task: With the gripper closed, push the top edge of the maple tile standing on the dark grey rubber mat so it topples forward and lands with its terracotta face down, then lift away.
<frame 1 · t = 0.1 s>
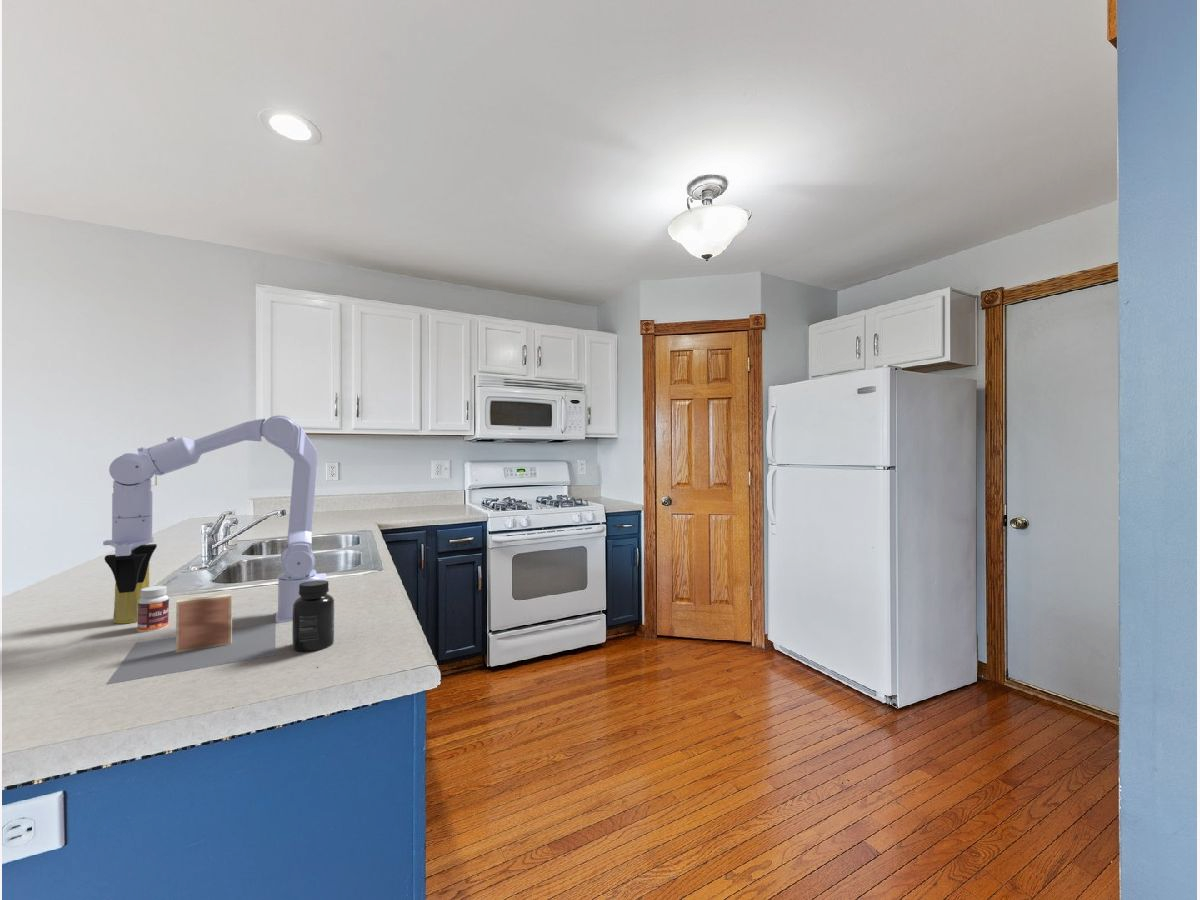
hand: (131, 587, 98), 10 cm above the counter, tool pointing down, fingers open, 7 cm apart
tile: (204, 646, 94), resting on mat
vase: (132, 620, 110), on the counter
supplement bottle: (313, 648, 96), on the counter
pill bottle: (153, 630, 104), on the counter
mat: (203, 650, 93), on the counter
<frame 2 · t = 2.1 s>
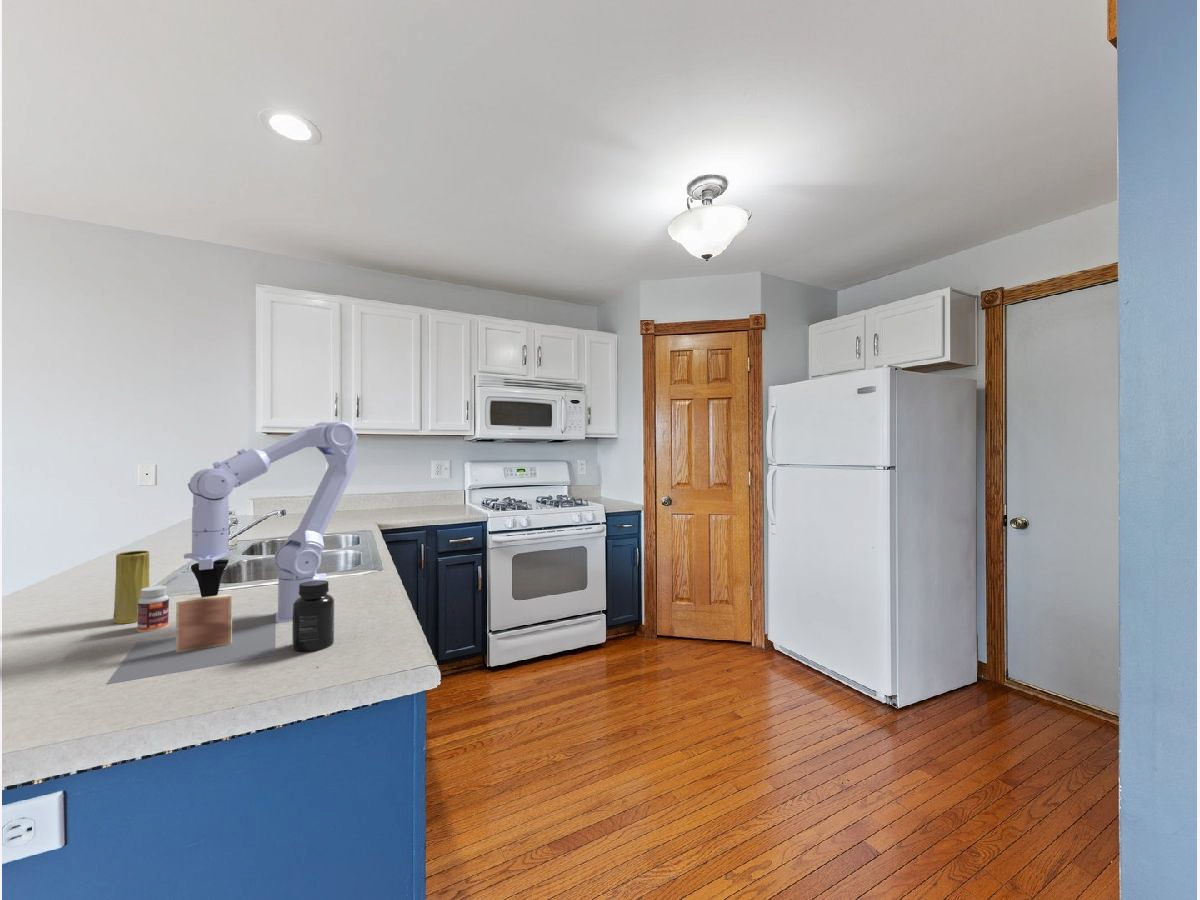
hand: (209, 599, 101), 7 cm above the counter, tool pointing down, fingers closed
nothing on the counter moved.
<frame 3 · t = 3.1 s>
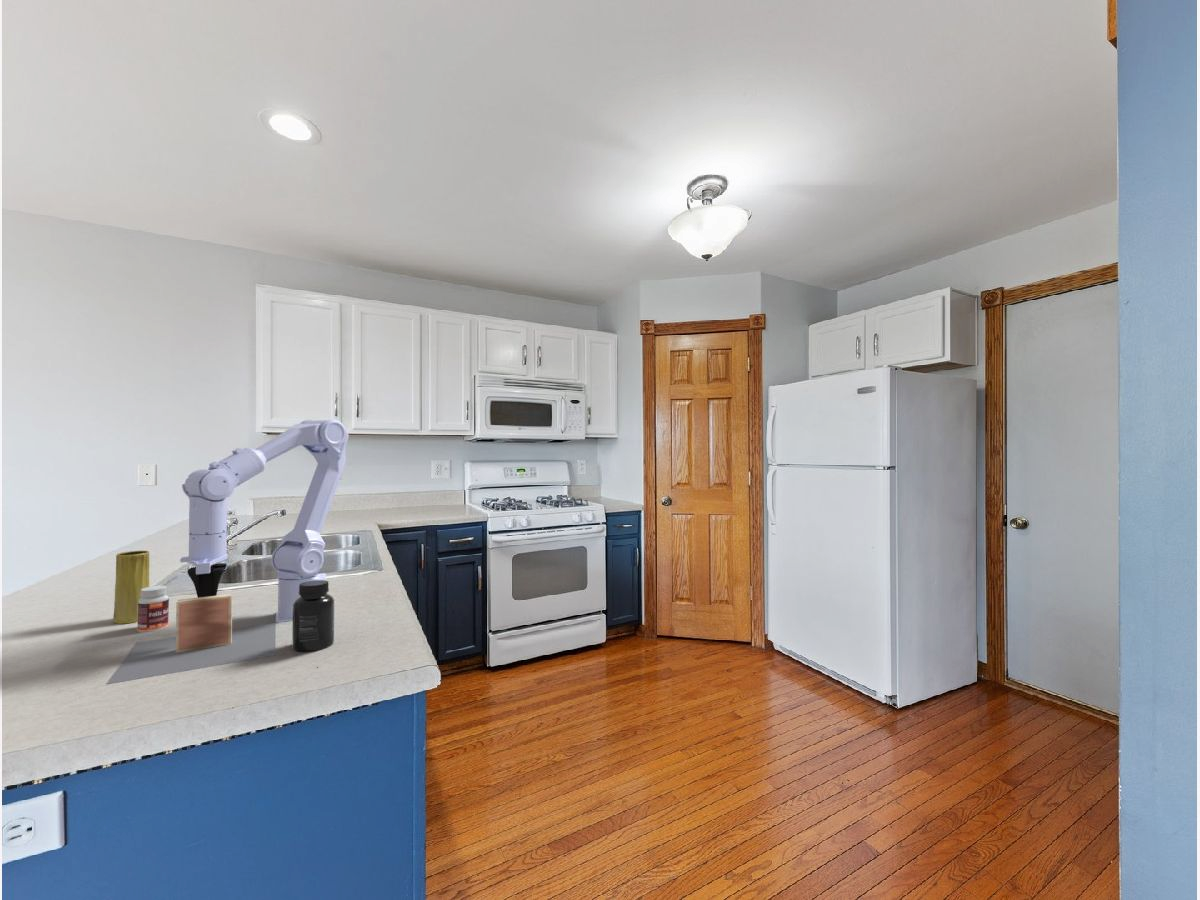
hand: (207, 604, 97), 7 cm above the counter, tool pointing down, fingers closed
nothing on the counter moved.
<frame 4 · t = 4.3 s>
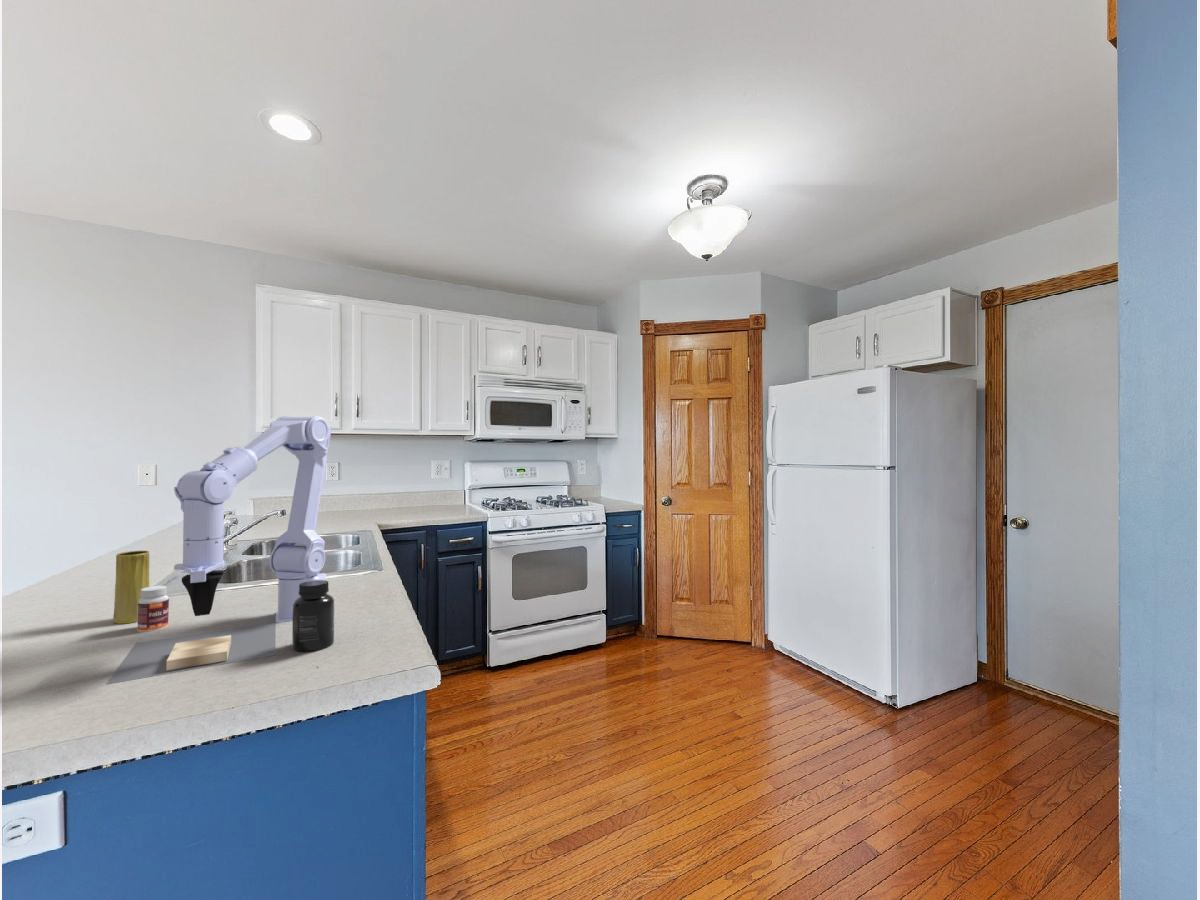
hand: (202, 614, 92), 7 cm above the counter, tool pointing down, fingers closed
tile: (204, 643, 93), point 1 cm above the counter, tilted 90°, touching mat
everything else where it was.
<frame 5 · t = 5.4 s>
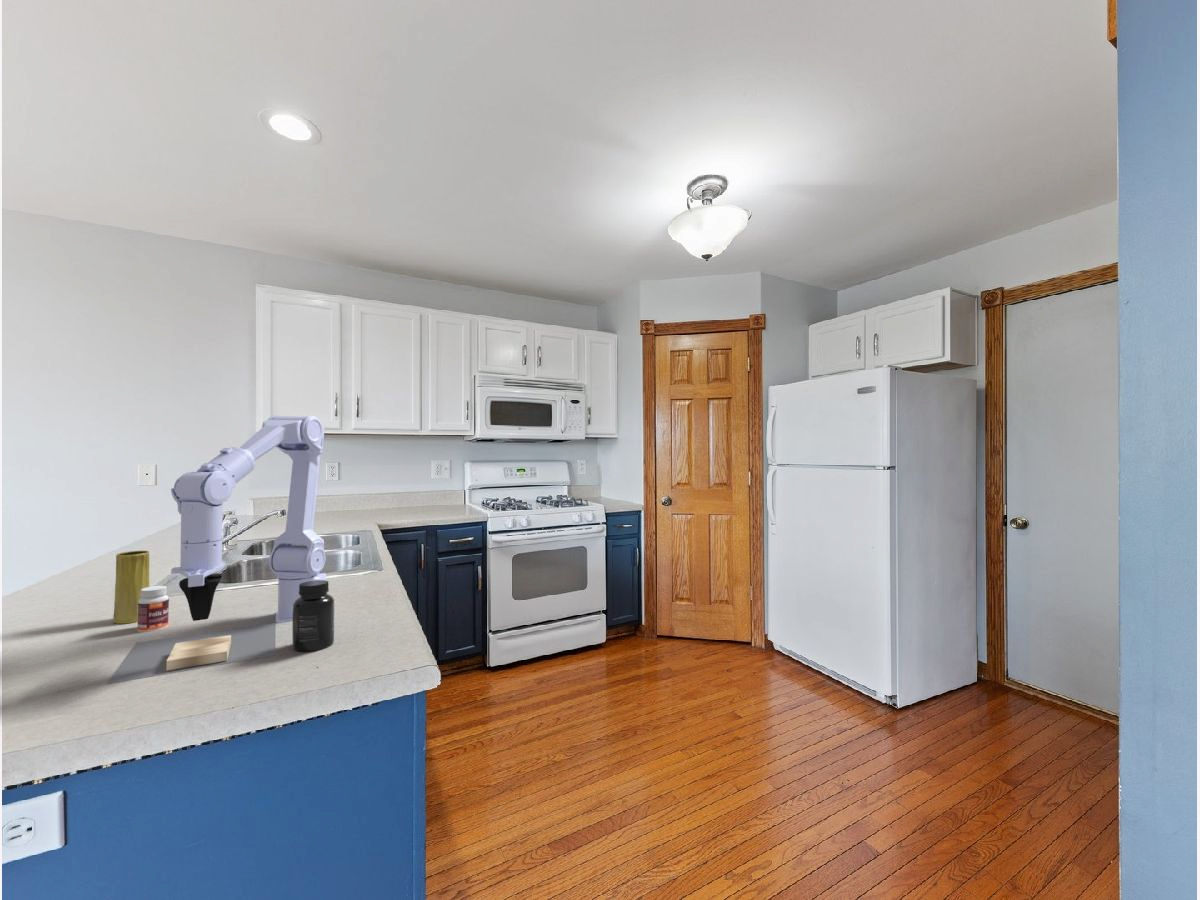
hand: (200, 619, 89), 7 cm above the counter, tool pointing down, fingers closed
nothing on the counter moved.
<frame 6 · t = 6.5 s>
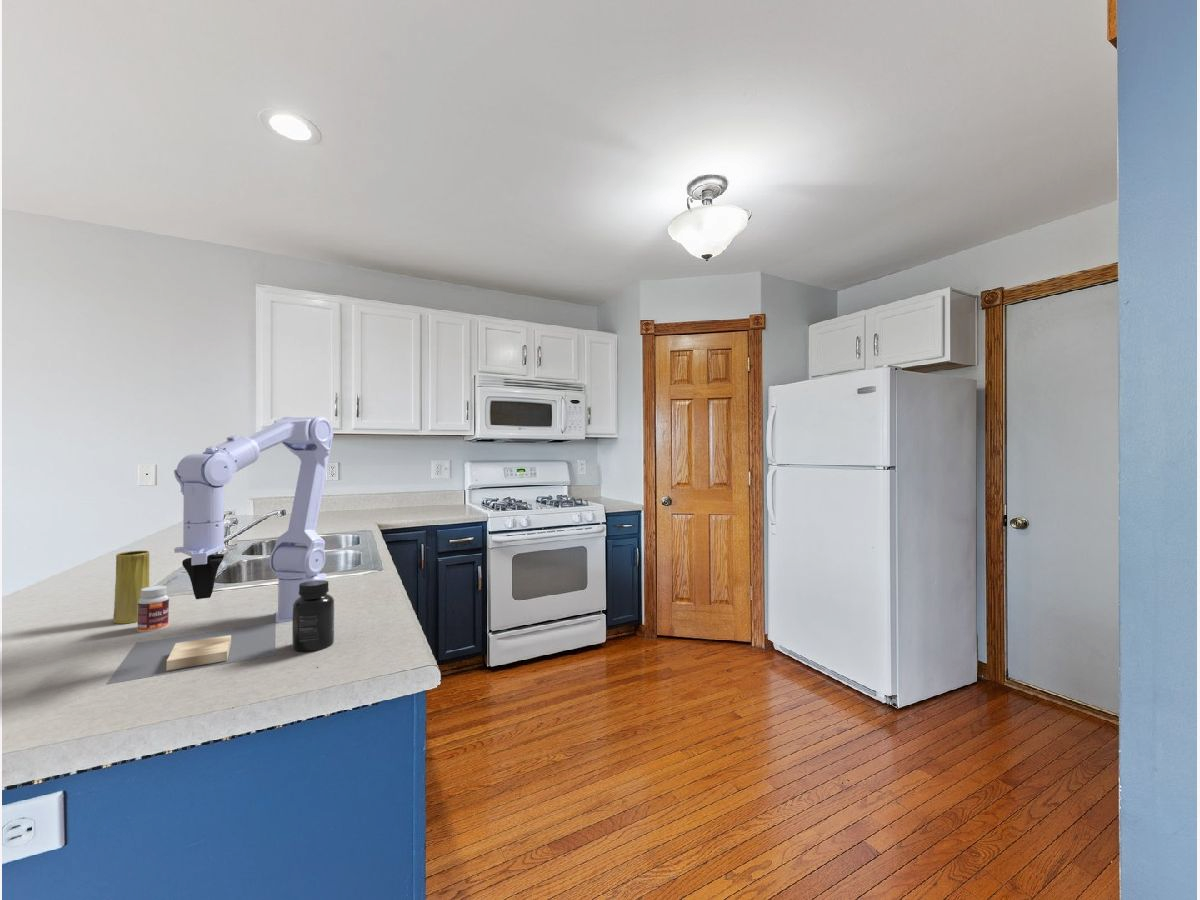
hand: (203, 597, 91), 10 cm above the counter, tool pointing down, fingers closed
nothing on the counter moved.
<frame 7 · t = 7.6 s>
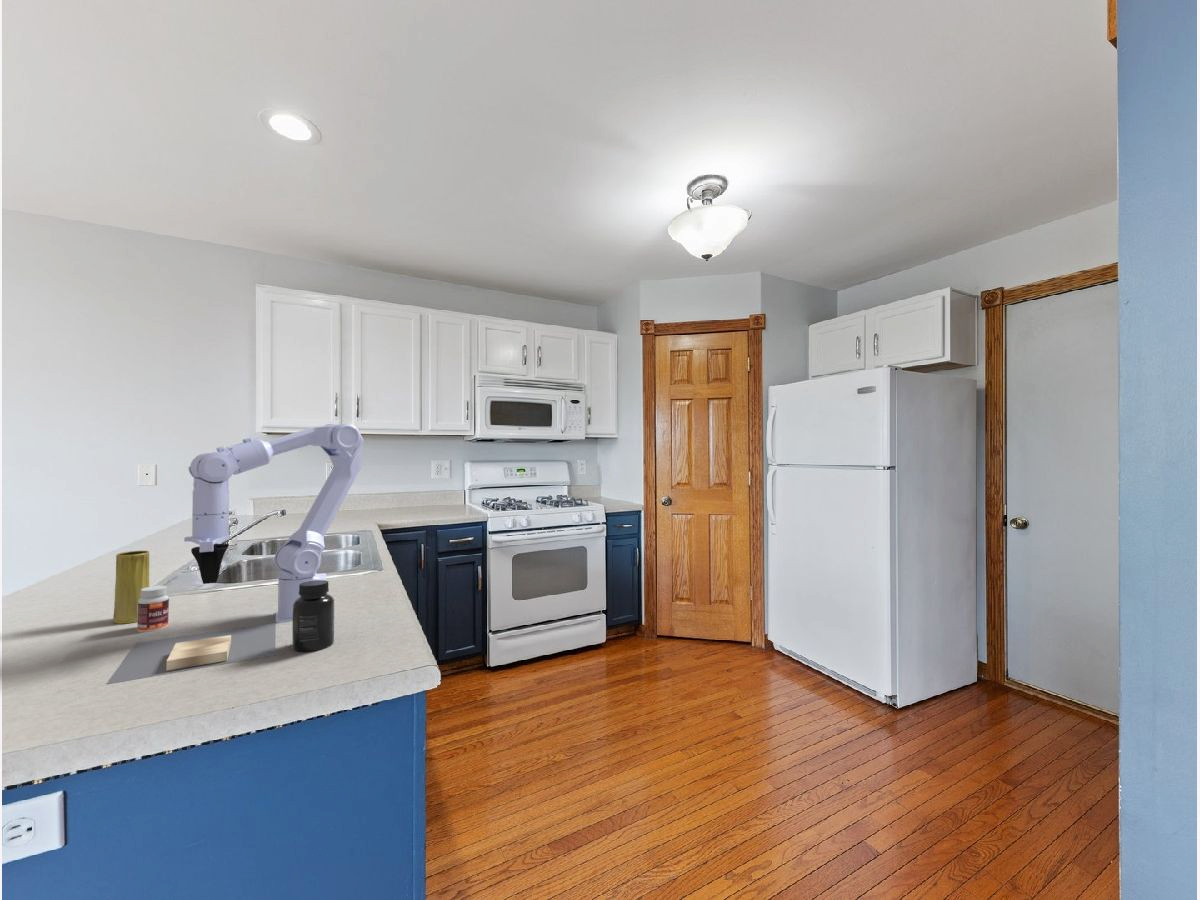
hand: (210, 582, 101), 10 cm above the counter, tool pointing down, fingers closed
nothing on the counter moved.
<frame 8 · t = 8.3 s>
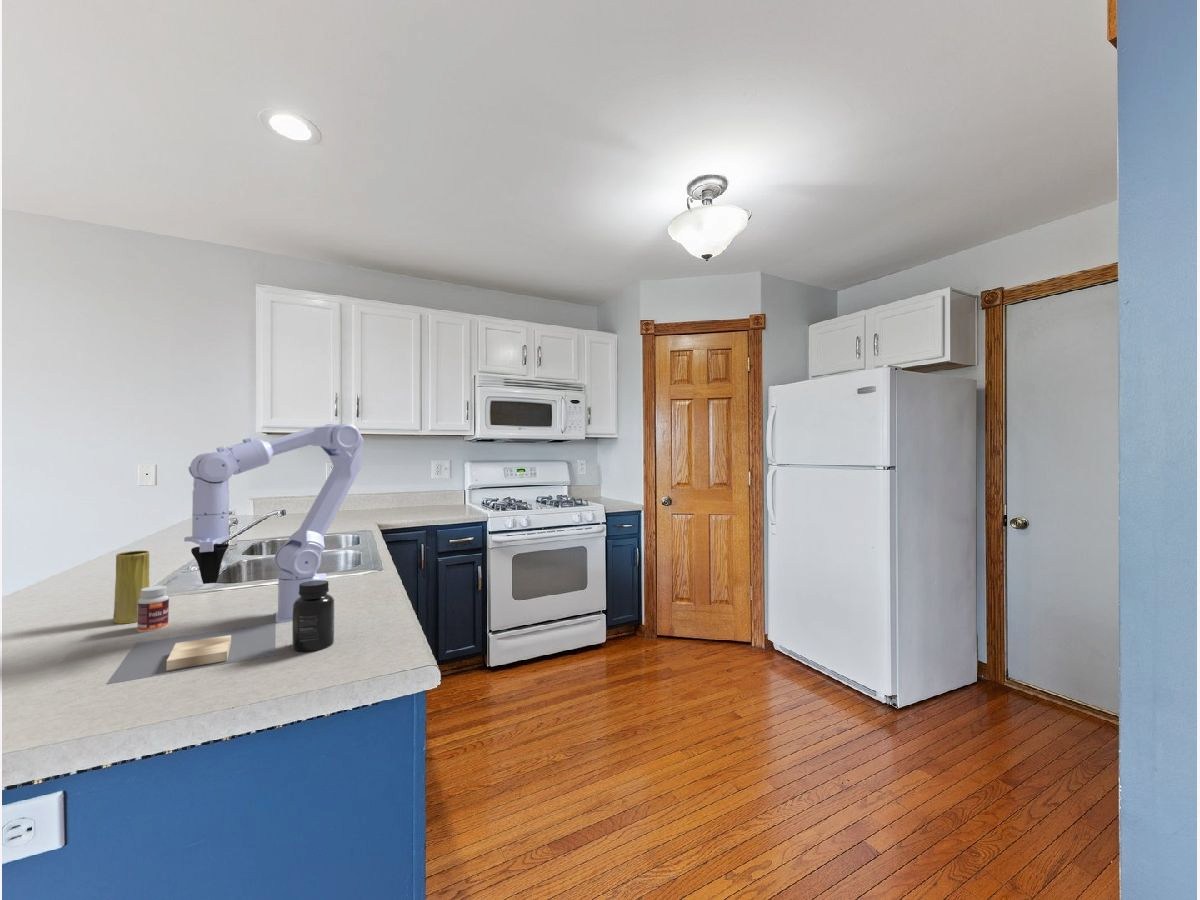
hand: (210, 582, 101), 10 cm above the counter, tool pointing down, fingers closed
nothing on the counter moved.
at the end: tile tilted 90°; tile inside the target area (2.0 cm from its centre), point 1.3 cm above the counter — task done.
